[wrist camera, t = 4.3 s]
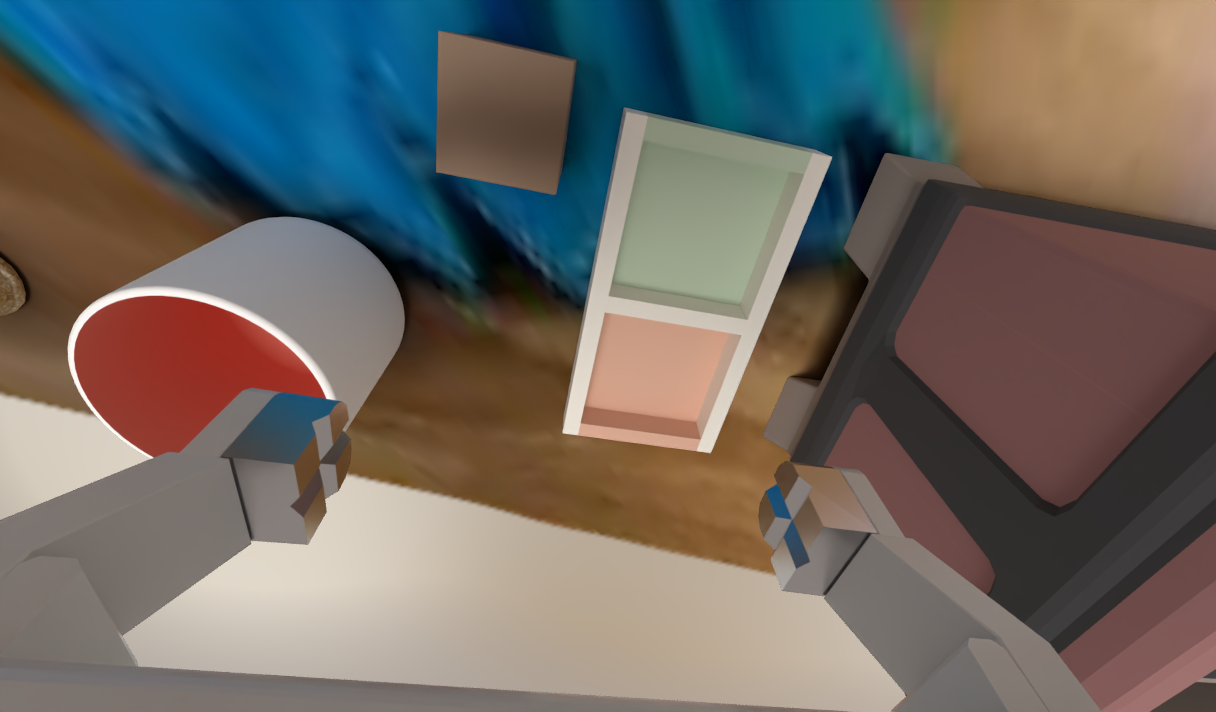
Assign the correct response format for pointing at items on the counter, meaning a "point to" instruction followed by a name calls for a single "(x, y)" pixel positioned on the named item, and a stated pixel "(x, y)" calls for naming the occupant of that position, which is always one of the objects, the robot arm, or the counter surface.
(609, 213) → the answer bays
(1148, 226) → the toaster
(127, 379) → the cup
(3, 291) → the sprinkles bottle
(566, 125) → the walnut block
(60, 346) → the counter surface
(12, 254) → the counter surface
